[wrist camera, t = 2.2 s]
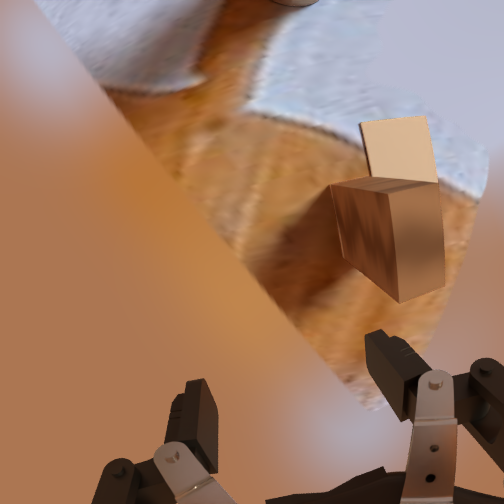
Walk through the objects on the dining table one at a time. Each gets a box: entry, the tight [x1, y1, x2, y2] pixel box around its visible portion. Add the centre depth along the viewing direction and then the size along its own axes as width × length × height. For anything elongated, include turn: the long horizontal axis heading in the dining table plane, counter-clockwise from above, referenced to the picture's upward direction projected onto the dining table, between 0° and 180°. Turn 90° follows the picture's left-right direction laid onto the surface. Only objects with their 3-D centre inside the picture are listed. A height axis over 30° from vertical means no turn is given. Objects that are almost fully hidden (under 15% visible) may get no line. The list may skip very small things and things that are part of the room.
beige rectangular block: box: [360, 116, 438, 183], centre depth 35 cm, size 18×10×1 cm, turn 14°
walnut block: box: [330, 176, 445, 304], centre depth 29 cm, size 9×5×14 cm, turn 14°
